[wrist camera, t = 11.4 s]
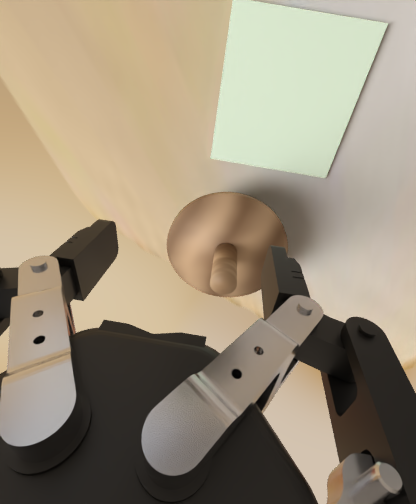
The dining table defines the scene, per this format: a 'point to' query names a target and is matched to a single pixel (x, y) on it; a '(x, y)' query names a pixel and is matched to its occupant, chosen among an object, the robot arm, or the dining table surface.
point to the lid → (224, 243)
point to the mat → (290, 85)
